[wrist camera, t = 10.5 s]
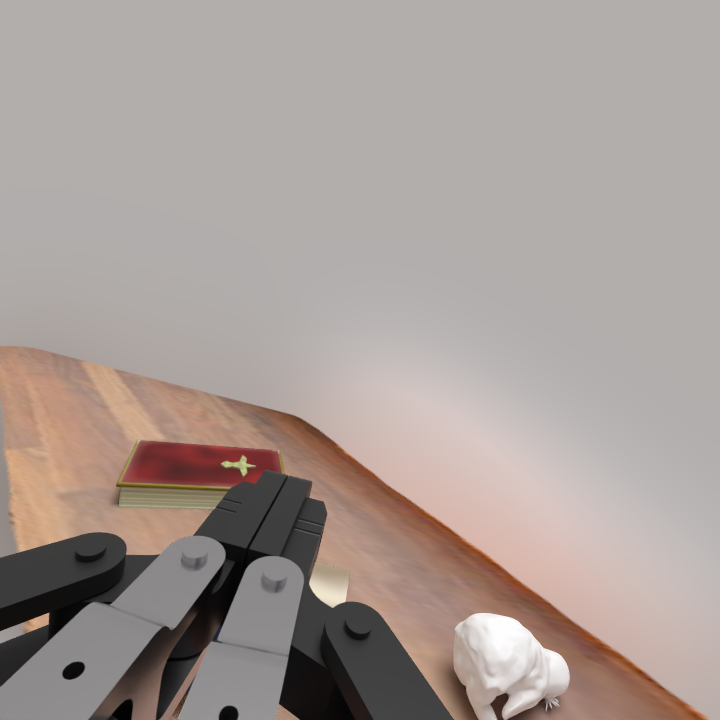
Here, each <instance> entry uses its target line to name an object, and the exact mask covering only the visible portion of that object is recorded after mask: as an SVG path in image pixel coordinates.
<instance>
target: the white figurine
mask: <svg viewBox="0 0 720 720" xmlns="http://www.w3.org/2000/svg"><path fill="white" fill-rule="evenodd" d="M453 663H454V670H455V672H456V674H457V676H458V678H459V680H460V682H461V683H462V684H463V685H464V686H466V692H467V695H468V698H469V701H470V703H471V705H472V707H473V709H474V711H475V714H476V716H477V718H478V719H479V720H497V718H496V715H495V712H494V710H493V708H492V706H491V705H490V703H492V702H493V701H494V699H495V698H496V696H499V695H501V694H504V693H507V694H508V696H509V699H508V701H507V702H506V704H505V705H504V707H503V709H502V717H503V719H504V720H507V719H508V718H510V717H512V716H514V715H516V714H518V713H520V712H522V711H524V710H527V709H530V708H532V707H534V706H535V705H537V704H538V702H539V701H540V700H541V699H543V698H544V699H546V700H545V701H546V710H547V707H548V704H550V706H551V703H550V702H552V703H553V704H554V705H555V706H556V704H557V705H558V703H557V702H559V701H558V700H557V699H555V697H556V696H560V695H562V694H563V693H564V692H565V691H566V690H567V688H568V685H569V681H570V675H569V670H568V666H567V664H566V662H565V661H564V659H563V658H562V657H561V656H560V655H559V654H558V653H556V652H553V651H551V650H548V649H544V648H543V647H542V646H541V644H540V643H539V642H538V641H537V640H536V639H535V638H534V637H533V635H532V634H531V633H530V631H528V630H527V629H526V628H525V627H523V626H522V625H521V624H520V623H519V622H518V621H517V620H515V619H513V618H510V617H506V616H501V615H496V614H491V613H478V614H473V615H471V616H470V617H468V618H467V619H466V620H465V621H462V622H460V623H459V624H458V625H457V627H456V628H455V641H454V659H453ZM554 700H556V701H557V702H555V701H554ZM545 701H544V703H545ZM548 702H549V703H548ZM555 703H556V704H555ZM558 706H559V705H558ZM556 707H557V706H556ZM559 707H560V706H559ZM551 708H552V706H551Z"/></svg>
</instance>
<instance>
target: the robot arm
mask: <svg viewBox="0 0 720 720" xmlns="http://www.w3.org/2000/svg"><path fill="white" fill-rule="evenodd" d="M311 487H312V481H308V480H305V479H301V478H297V477H293V476H289V477H288V475H285V474H281V473H277V472H273V471H270V470H264V472H263V473H262V475H261V476H260V478H259V479H258V481H257V482H256V483H255V484H254V483H250V482H246V481H243V482H241V483H239V484H237V485H235V486H233V487H231V488H230V489H229V491H228V492H227V493H226V494H225V496H224V497H223V499H222V500H221V501H220V502H219V503H218V505H217V506H216V508H214V510H213V511H212V512H211V514H210V515H209V516H208V517H207V519H206V520H205V521H204V522H203V524H202V525H201V526H200V528H199V529H198V530H197V531H196V533H195V534H194V535H193V536H189V537H184V538H181V539H179V540H177V541H175V542H173V543H172V544H170V545H169V546H168V547H167V548H166V549H165V550H164V551H163V552H162V553H161V554H160V555H126V550H127V548H126V544H125V542H124V541H123V539H121V538H120V537H118V536H116V535H114V534H110V533H102V532H97V533H88V534H84V535H80V536H76V537H73V538H69V539H66V540H62V541H59V542H55V543H51V544H48V545H44V546H41V547H37V548H34V549H30V550H27V551H23V552H19V553H16V554H12V555H9V556H5V557H2V558H0V631H2V630H4V629H7V628H10V627H12V626H15V625H17V624H20V623H23V622H25V621H28V620H31V619H33V618H36V617H39V616H41V615H44V614H47V613H49V625H46V626H44V627H41V628H39V629H36V630H34V631H31V632H29V633H26V634H24V635H21V636H19V637H16V638H13V639H11V640H9V641H6V642H4V643H1V644H0V720H169V719H170V717H171V716H172V714H173V712H174V711H175V709H176V707H177V706H178V704H179V702H180V701H181V699H182V697H183V696H184V694H185V692H186V691H187V689H188V687H189V686H190V684H191V682H192V681H193V679H194V677H195V676H196V677H195V679H194V681H193V684H192V686H191V688H190V691H189V693H188V695H187V698H186V700H185V702H184V705H183V707H182V709H181V712H180V714H179V717H178V719H177V720H275V719H276V714H277V709H278V705H279V704H280V705H281V706H283V707H284V708H285V709H287V710H288V711H289V712H291V713H292V714H293V715H295V716H296V717H297V718H299V719H300V720H454V719H453V718H452V716H451V715H450V713H449V712H448V710H447V709H446V708H445V706H444V705H443V703H442V702H441V700H440V699H439V698H438V696H437V695H436V693H435V692H434V690H433V689H432V688H431V686H430V685H429V683H428V682H427V680H426V679H425V678H424V676H423V675H422V673H421V672H420V670H419V669H418V668H417V666H416V665H415V663H414V662H413V660H412V659H411V658H410V656H409V655H408V653H407V652H406V650H405V649H404V648H403V646H402V645H401V643H400V642H399V640H398V639H397V638H396V636H395V635H394V633H393V632H392V630H391V629H390V628H389V626H388V625H387V623H386V622H385V620H384V619H383V618H382V617H381V615H380V614H379V613H378V612H377V611H375V610H374V609H373V608H371V607H369V606H367V605H365V604H362V603H358V602H344V603H340V604H338V605H336V606H335V607H333V608H332V607H330V606H329V605H327V604H325V603H324V602H323V601H321V600H320V599H319V598H318V597H317V596H316V595H315V594H314V593H313V591H312V589H311V587H310V585H309V582H310V579H311V575H312V572H313V568H314V565H315V562H316V559H317V555H318V551H319V547H320V543H321V538H322V534H323V530H324V525H325V521H326V517H327V511H326V507H325V504H324V502H323V501H319V500H315V499H311V498H309V496H310V492H311ZM219 626H223V627H222V629H221V632H220V634H219V636H218V639H217V640H215V639H213V637H214V635H215V634H216V632H217V630H218V628H219ZM212 639H213V640H212Z"/></svg>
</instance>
